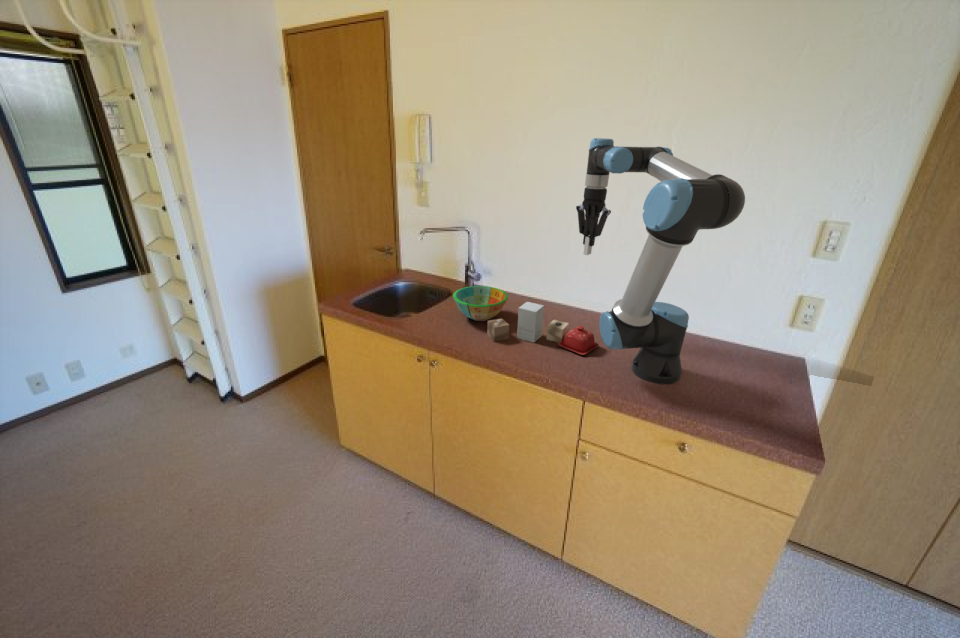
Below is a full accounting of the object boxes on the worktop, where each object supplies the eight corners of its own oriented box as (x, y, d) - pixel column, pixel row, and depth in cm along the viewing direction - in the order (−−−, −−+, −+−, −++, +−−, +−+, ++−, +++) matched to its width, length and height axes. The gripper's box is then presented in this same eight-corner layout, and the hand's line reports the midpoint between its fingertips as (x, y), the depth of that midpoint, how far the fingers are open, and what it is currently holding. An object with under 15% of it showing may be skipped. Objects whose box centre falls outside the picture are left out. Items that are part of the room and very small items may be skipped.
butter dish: (555, 347, 153) (558, 326, 149) (573, 337, 160) (576, 316, 157) (582, 358, 145) (586, 337, 142) (600, 347, 153) (603, 326, 149)
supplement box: (542, 335, 160) (545, 305, 155) (533, 343, 154) (536, 312, 149) (525, 330, 164) (527, 300, 158) (516, 338, 158) (518, 307, 153)
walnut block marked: (508, 339, 157) (509, 324, 155) (493, 341, 155) (494, 326, 152) (501, 332, 162) (502, 317, 160) (487, 335, 160) (487, 320, 157)
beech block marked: (567, 337, 159) (569, 322, 157) (561, 343, 155) (562, 328, 152) (552, 333, 162) (554, 318, 160) (546, 339, 158) (547, 324, 155)
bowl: (474, 302, 188) (474, 281, 184) (517, 315, 176) (518, 293, 172) (442, 319, 172) (441, 296, 167) (486, 334, 160) (487, 310, 156)
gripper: (618, 188, 142) (608, 256, 152) (585, 184, 150) (578, 248, 160) (607, 190, 137) (597, 260, 147) (573, 186, 146) (566, 252, 156)
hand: (587, 254), depth 154 cm, fingers closed
